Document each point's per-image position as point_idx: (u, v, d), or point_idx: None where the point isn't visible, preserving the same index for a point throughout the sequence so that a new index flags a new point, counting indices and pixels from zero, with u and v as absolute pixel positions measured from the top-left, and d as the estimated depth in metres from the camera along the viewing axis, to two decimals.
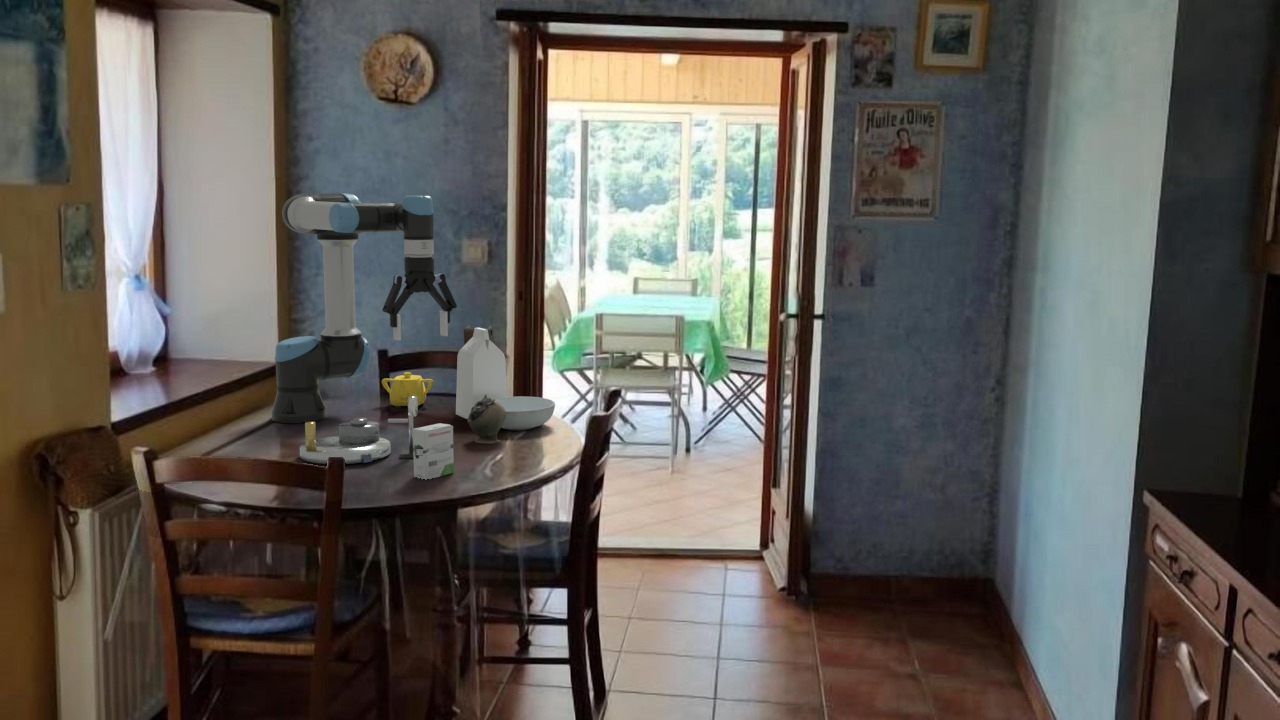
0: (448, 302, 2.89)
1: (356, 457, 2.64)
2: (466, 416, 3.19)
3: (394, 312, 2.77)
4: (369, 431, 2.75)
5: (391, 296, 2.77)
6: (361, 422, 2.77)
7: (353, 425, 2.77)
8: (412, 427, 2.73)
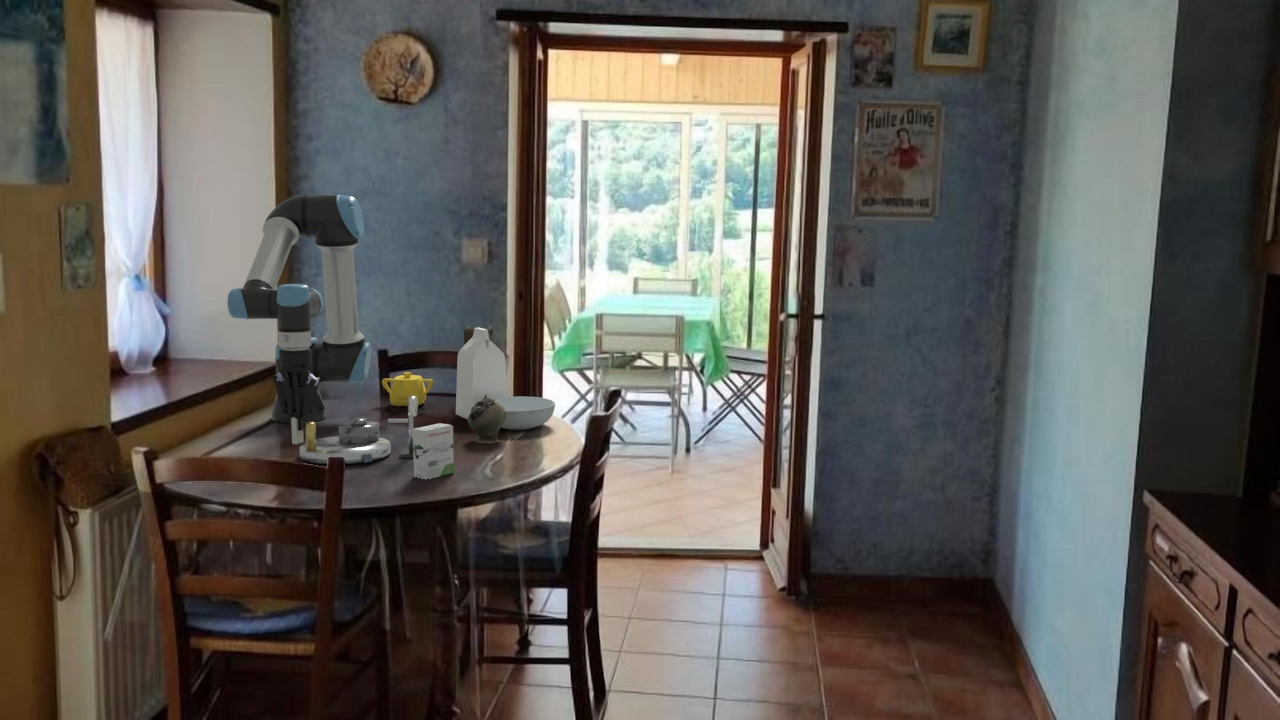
0: None
1: (357, 457, 2.64)
2: (466, 416, 3.19)
3: (288, 415, 2.67)
4: (369, 431, 2.75)
5: None
6: (361, 422, 2.77)
7: (353, 425, 2.77)
8: (412, 427, 2.73)
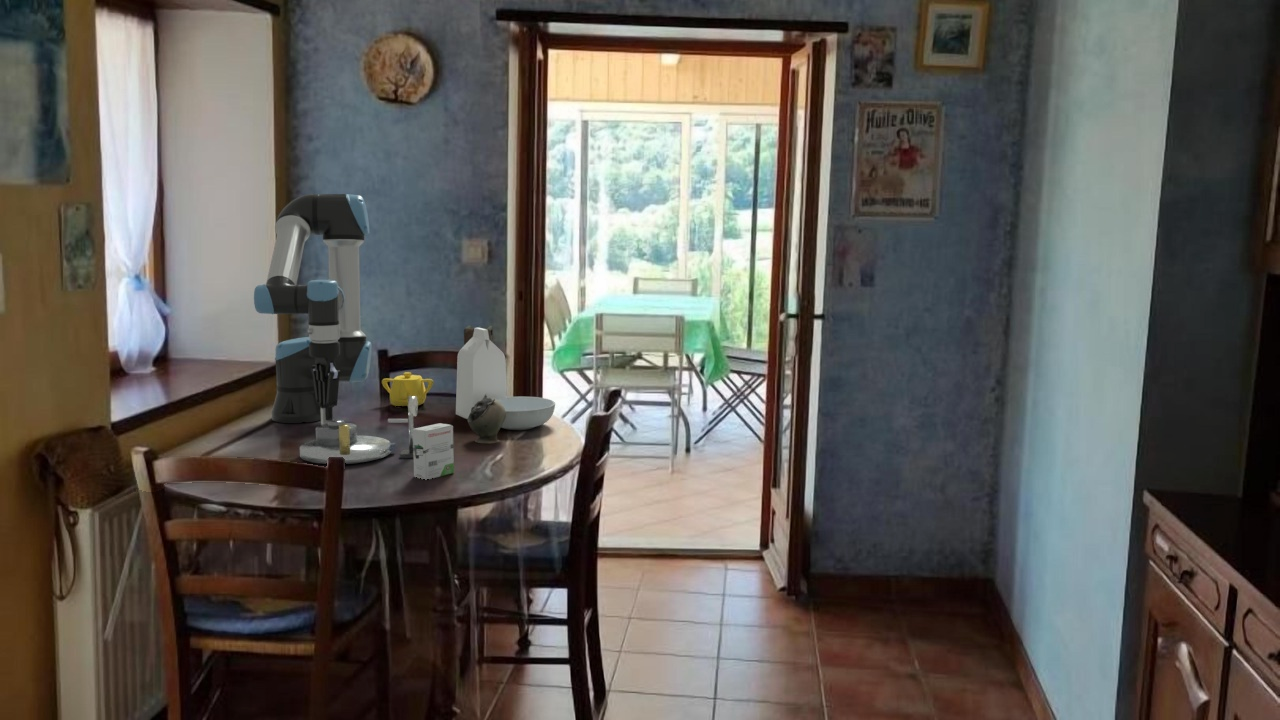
0: None
1: (389, 448, 2.74)
2: (466, 416, 3.19)
3: (319, 404, 2.80)
4: None
5: None
6: None
7: None
8: (412, 427, 2.73)
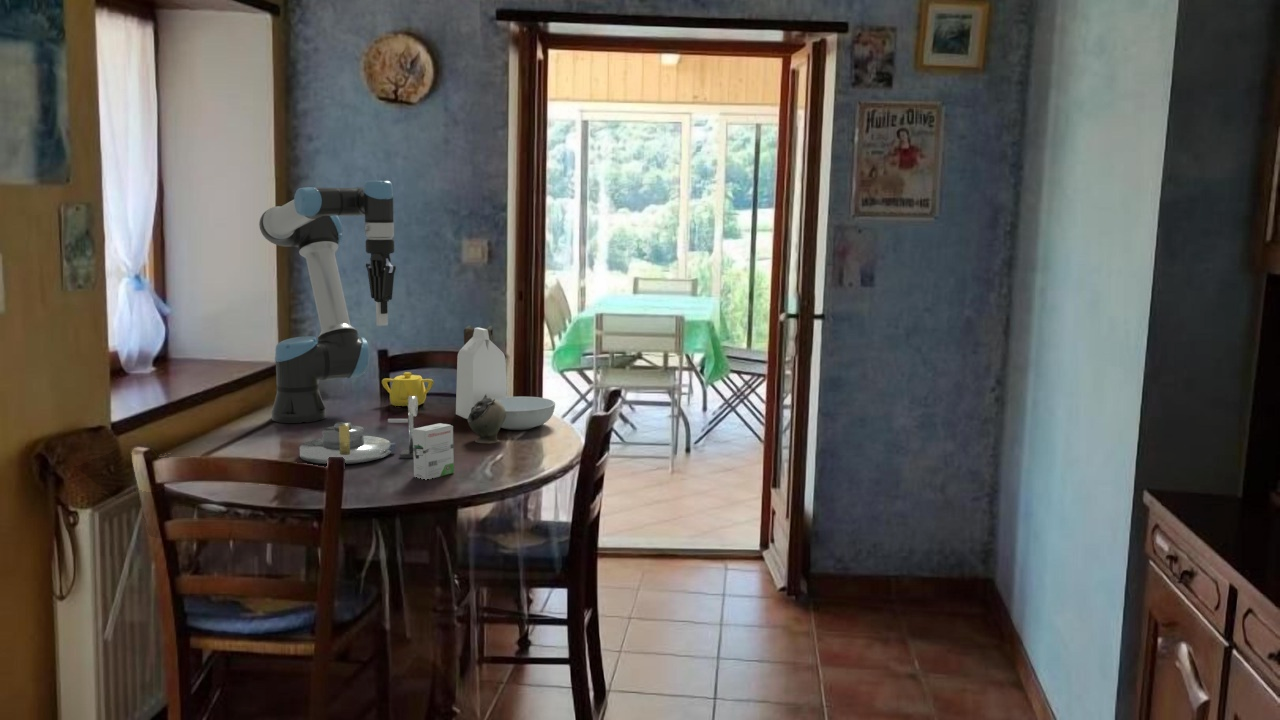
0: None
1: (389, 448, 2.74)
2: (466, 416, 3.19)
3: (374, 299, 2.97)
4: (363, 431, 2.75)
5: None
6: (351, 425, 2.74)
7: None
8: (412, 427, 2.73)
